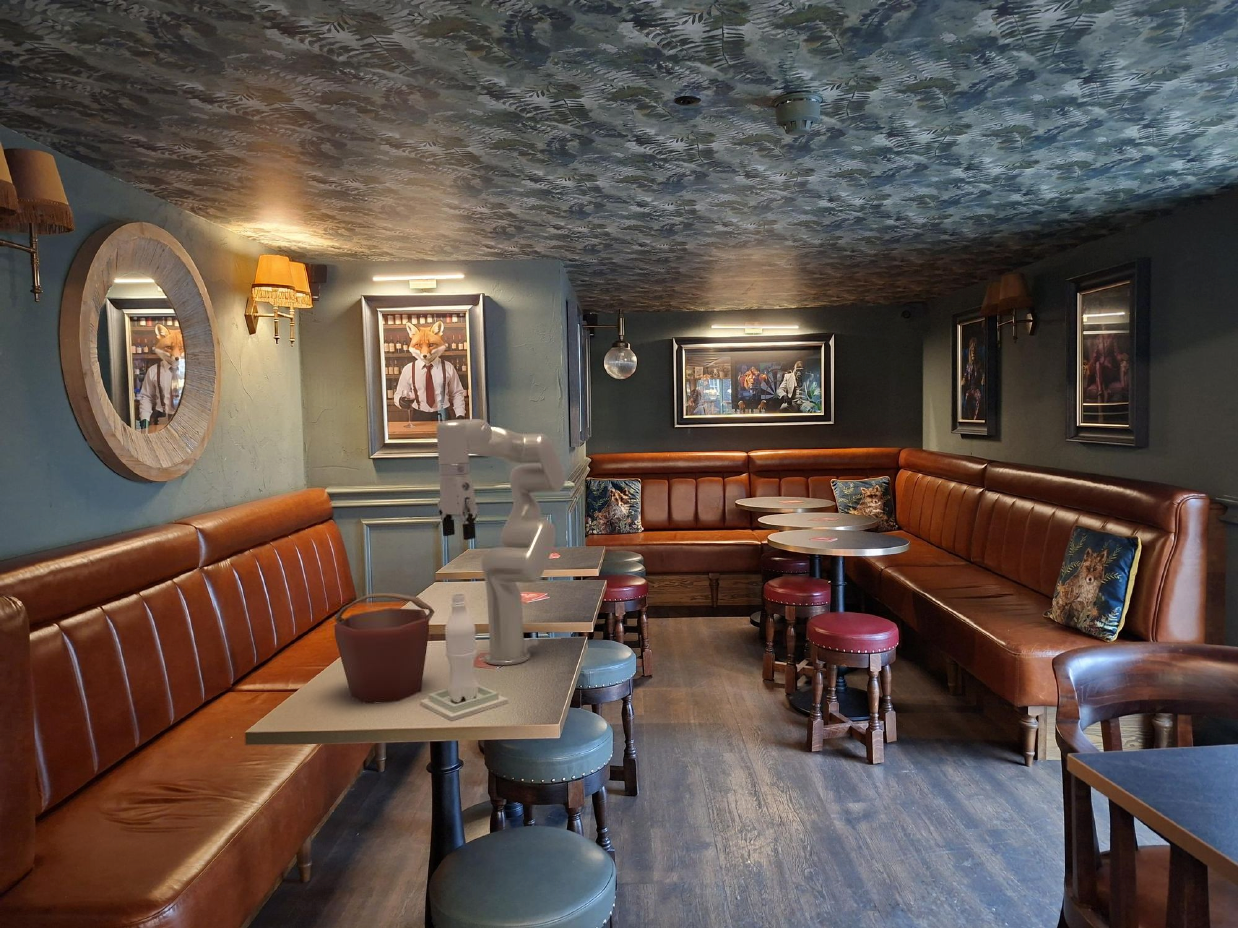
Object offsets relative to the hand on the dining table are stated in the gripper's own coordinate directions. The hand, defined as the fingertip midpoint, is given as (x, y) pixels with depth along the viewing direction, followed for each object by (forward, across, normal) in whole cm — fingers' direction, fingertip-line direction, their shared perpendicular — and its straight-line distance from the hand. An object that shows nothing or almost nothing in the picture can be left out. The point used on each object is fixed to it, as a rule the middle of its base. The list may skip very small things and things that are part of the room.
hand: (459, 537), depth 201 cm
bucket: (+38, +9, +18) cm, 43 cm away
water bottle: (+36, -13, +10) cm, 40 cm away
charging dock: (+37, -13, +10) cm, 41 cm away
